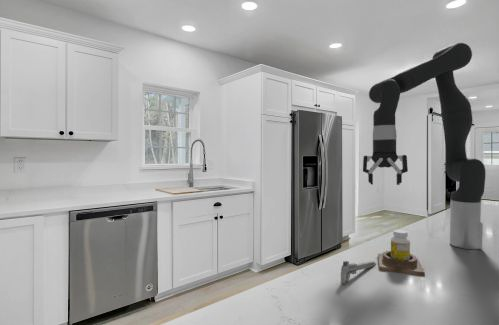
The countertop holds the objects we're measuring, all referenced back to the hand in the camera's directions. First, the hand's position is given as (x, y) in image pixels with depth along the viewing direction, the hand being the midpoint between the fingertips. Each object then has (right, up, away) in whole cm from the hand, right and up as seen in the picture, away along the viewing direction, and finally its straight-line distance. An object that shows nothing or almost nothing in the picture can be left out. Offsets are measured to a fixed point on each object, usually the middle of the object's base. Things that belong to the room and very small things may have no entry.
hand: (384, 184), depth 102 cm
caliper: (-15, -26, -16) cm, 34 cm away
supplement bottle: (0, -24, -10) cm, 26 cm away
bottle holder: (0, -25, -10) cm, 27 cm away
